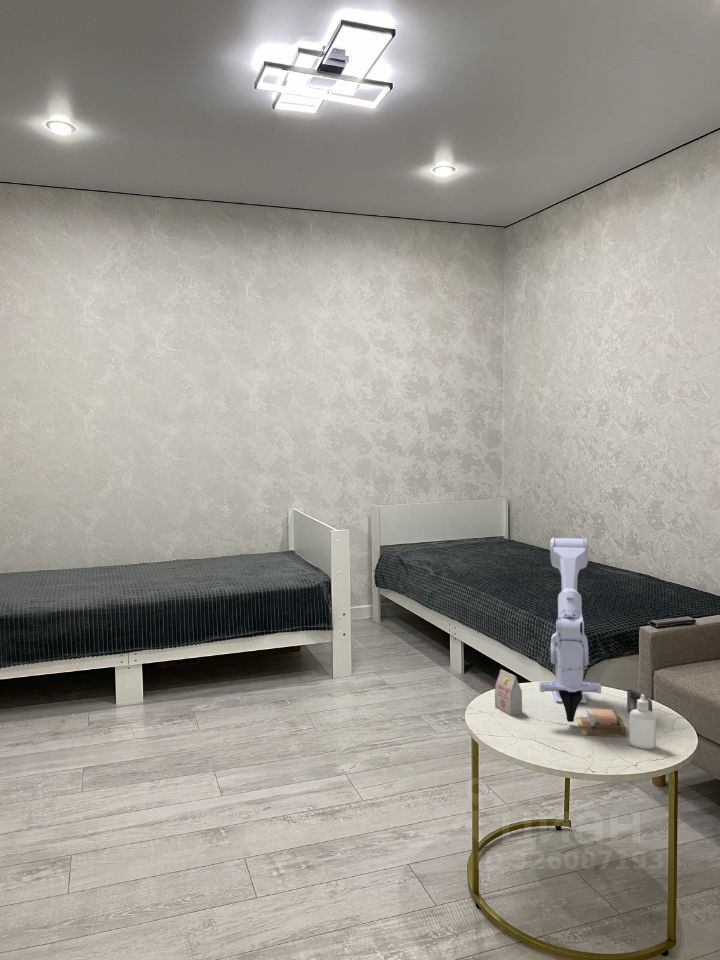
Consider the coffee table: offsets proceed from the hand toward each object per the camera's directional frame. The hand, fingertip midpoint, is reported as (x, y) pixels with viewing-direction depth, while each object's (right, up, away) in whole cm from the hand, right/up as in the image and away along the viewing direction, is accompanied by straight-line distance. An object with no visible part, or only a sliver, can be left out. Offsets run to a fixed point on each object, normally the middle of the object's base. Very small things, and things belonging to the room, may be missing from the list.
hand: (570, 720), depth 184 cm
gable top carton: (-13, -1, +11) cm, 17 cm away
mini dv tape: (+19, -1, +5) cm, 19 cm away
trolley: (+8, -1, -1) cm, 8 cm away
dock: (+8, -1, -1) cm, 8 cm away
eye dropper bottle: (+13, -2, -12) cm, 18 cm away
